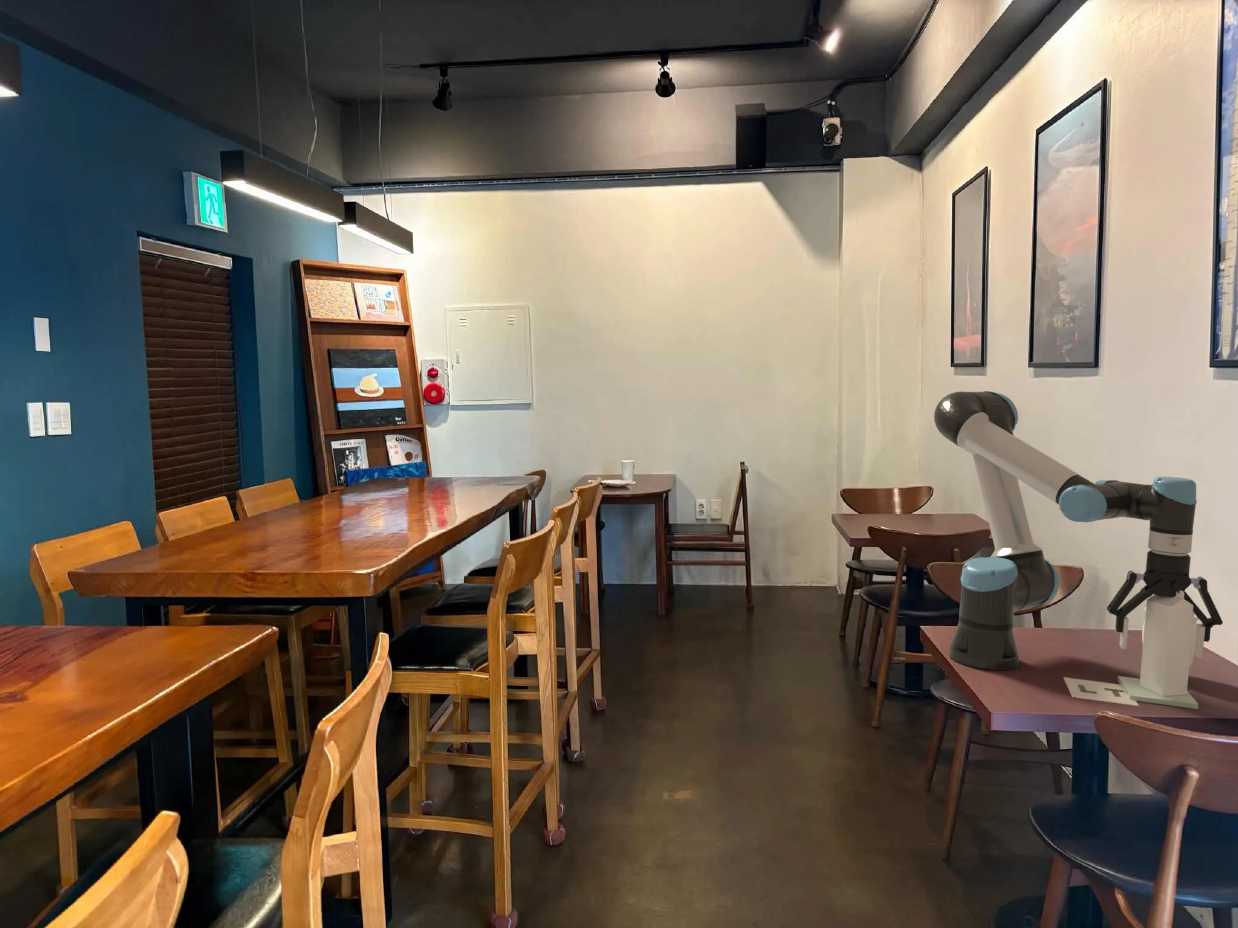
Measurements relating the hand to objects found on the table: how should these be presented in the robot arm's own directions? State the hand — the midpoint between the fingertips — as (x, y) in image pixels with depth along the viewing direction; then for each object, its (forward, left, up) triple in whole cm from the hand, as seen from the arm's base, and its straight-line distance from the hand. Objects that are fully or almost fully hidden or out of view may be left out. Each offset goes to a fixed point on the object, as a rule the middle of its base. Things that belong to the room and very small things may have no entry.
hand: (1159, 651), depth 174 cm
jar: (+5, +14, -9) cm, 18 cm away
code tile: (-11, -3, -9) cm, 15 cm away
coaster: (0, 0, -9) cm, 9 cm away
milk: (+1, 0, -8) cm, 8 cm away
